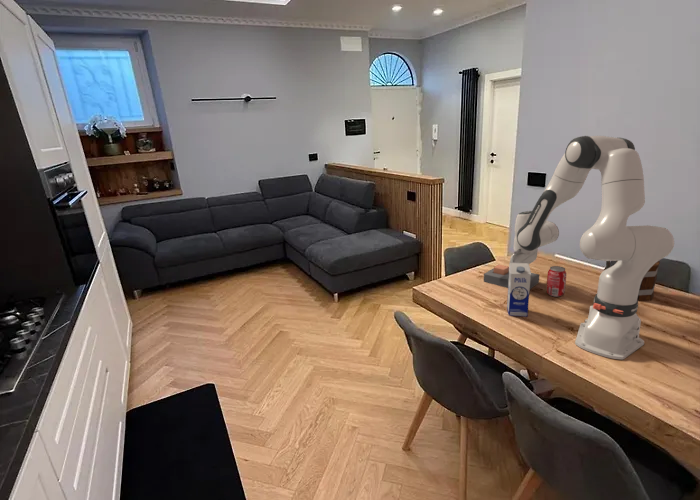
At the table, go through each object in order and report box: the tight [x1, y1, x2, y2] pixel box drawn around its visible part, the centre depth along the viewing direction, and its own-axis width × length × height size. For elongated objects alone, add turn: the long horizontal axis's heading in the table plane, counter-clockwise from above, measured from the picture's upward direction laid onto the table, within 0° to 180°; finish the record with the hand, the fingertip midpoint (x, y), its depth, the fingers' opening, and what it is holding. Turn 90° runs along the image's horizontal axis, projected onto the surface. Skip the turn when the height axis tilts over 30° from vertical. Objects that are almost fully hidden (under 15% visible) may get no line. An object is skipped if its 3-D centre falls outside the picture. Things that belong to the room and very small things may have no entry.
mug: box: [605, 260, 661, 302], centre depth 157 cm, size 20×14×15 cm
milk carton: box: [506, 262, 532, 318], centre depth 147 cm, size 7×7×20 cm
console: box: [483, 267, 541, 290], centre depth 176 cm, size 14×20×4 cm
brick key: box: [493, 264, 509, 275], centre depth 179 cm, size 5×5×3 cm
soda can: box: [545, 265, 567, 298], centre depth 160 cm, size 7×7×12 cm
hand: (522, 274), depth 172 cm, fingers closed
